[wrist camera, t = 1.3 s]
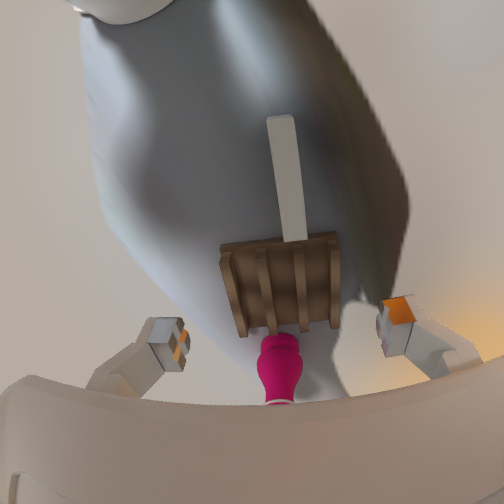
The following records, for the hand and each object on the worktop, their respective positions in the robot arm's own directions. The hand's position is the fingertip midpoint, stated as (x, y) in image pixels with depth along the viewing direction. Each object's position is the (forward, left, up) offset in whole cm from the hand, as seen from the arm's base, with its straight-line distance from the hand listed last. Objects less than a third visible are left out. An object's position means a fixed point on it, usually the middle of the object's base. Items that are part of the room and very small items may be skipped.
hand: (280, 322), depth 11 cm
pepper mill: (+29, -3, -24) cm, 37 cm away
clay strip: (0, +1, -24) cm, 24 cm away
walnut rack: (+16, -1, -24) cm, 28 cm away
